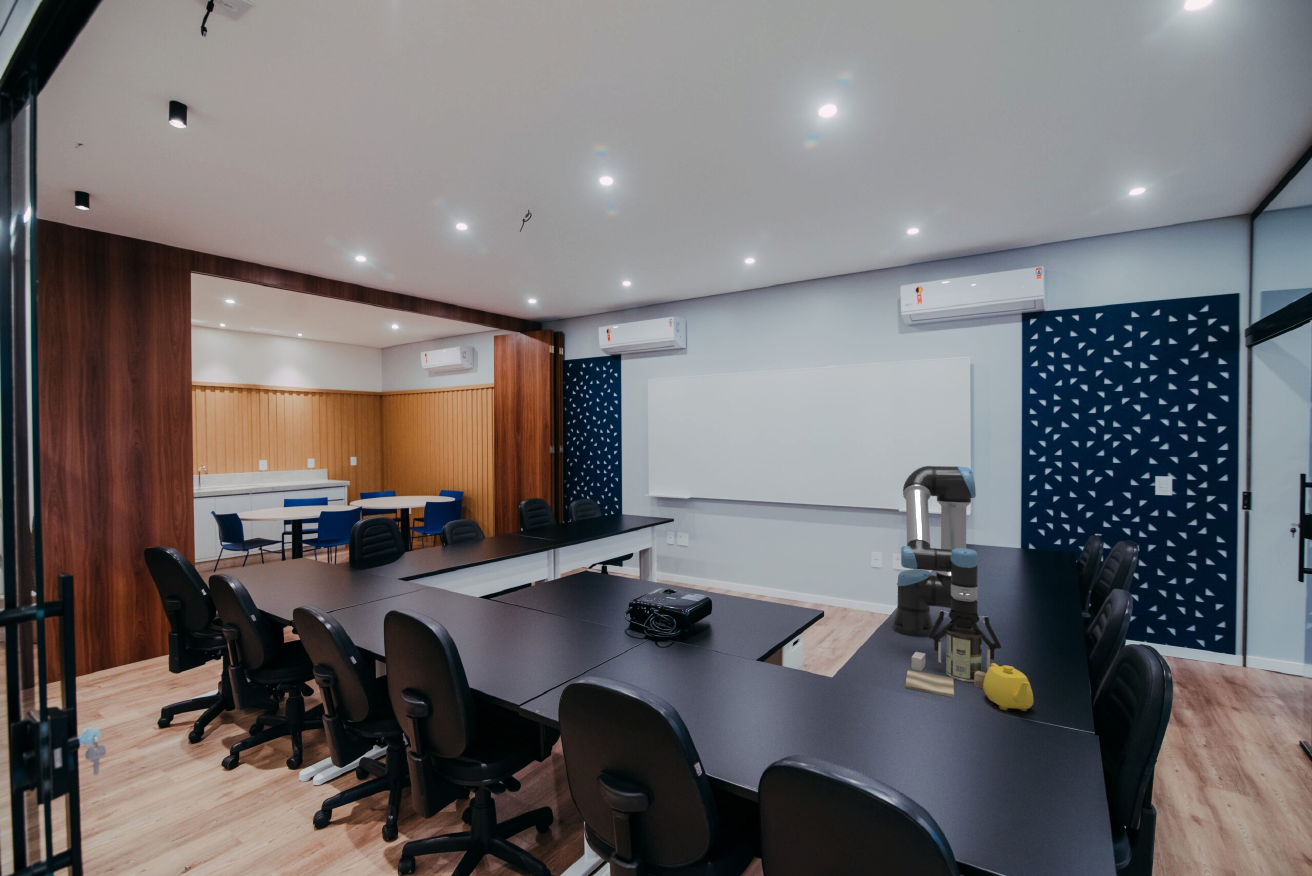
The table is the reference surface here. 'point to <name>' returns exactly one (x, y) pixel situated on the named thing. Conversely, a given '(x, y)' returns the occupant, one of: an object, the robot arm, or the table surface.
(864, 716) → the table surface
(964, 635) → the coffee can
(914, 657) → the off-white brick
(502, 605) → the table surface
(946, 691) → the trivet
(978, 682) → the beech brick
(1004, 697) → the teapot
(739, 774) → the table surface
